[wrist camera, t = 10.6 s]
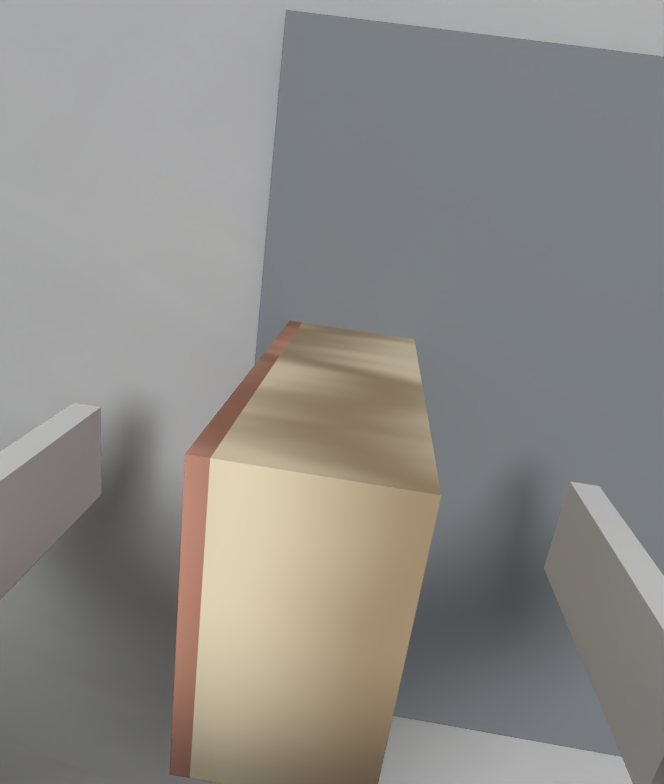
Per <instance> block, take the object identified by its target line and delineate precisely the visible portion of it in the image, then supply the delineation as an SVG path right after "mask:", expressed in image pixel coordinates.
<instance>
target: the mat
mask: <svg viewBox="0 0 664 784" xmlns="http://www.w3.org/2000/svg"><path fill="white" fill-rule="evenodd" d="M289 321H295V322H302V323H309V324H316V325H322V326H329V327H336V328H342V329H349V330H356V331H363V332H369V333H376V334H383V335H389V336H396V337H403V338H410V339H414V340H415V346H416V352H417V357H418V363H419V369H420V375H421V381H422V386H423V392H424V398H425V404H426V409H427V415H428V421H429V427H430V433H431V438H432V444H433V450H434V456H435V461H436V467H437V473H438V479H439V485H440V490H441V499H440V504H439V508H438V513H437V518H436V522H435V527H434V531H433V536H432V540H431V545H430V549H429V554H428V558H427V563H426V568H425V572H424V577H423V581H422V586H421V590H420V595H419V599H418V604H417V609H416V613H415V618H414V622H413V627H412V631H411V636H410V640H409V645H408V649H407V654H406V659H405V663H404V668H403V672H402V677H401V681H400V686H399V690H398V695H397V699H396V704H395V709H394V713H393V716H398V717H404V718H409V719H415V720H420V721H426V722H432V723H437V724H443V725H448V726H454V727H459V728H465V729H471V730H476V731H482V732H487V733H493V734H498V735H504V736H510V737H515V738H521V739H526V740H532V741H537V742H543V743H548V744H554V745H560V746H565V747H571V748H576V749H582V750H587V751H593V752H599V753H604V754H610V755H615V756H621V753H620V751H619V748H618V746H617V744H616V741H615V739H614V736H613V734H612V732H611V729H610V727H609V724H608V722H607V719H606V717H605V715H604V712H603V710H602V707H601V705H600V702H599V700H598V698H597V695H596V693H595V690H594V688H593V686H592V683H591V681H590V678H589V676H588V673H587V671H586V669H585V666H584V664H583V661H582V659H581V657H580V654H579V652H578V649H577V647H576V644H575V642H574V640H573V637H572V635H571V632H570V630H569V628H568V625H567V623H566V620H565V618H564V615H563V613H562V611H561V608H560V606H559V603H558V601H557V599H556V596H555V594H554V591H553V589H552V586H551V584H550V582H549V579H548V577H547V574H546V572H545V570H544V566H545V563H546V559H547V556H548V553H549V549H550V546H551V543H552V539H553V536H554V533H555V530H556V526H557V523H558V520H559V516H560V513H561V510H562V506H563V503H564V500H565V497H566V493H567V490H568V487H569V483H570V481H571V482H577V483H583V484H589V485H596V486H600V488H601V489H602V491H603V492H604V493H605V495H606V496H607V498H608V499H609V500H610V502H611V503H612V504H613V506H614V507H615V509H616V510H617V511H618V513H619V514H620V516H621V517H622V518H623V520H624V521H625V523H626V524H627V525H628V527H629V528H630V529H631V531H632V532H633V534H634V535H635V536H636V538H637V539H638V541H639V542H640V543H641V545H642V546H643V548H644V549H645V550H646V552H647V553H648V554H649V556H650V557H651V559H652V560H653V561H654V563H655V564H656V566H657V567H658V568H659V570H660V571H661V573H662V574H663V575H664V57H662V56H654V55H646V54H638V53H630V52H622V51H614V50H606V49H598V48H590V47H581V46H573V45H565V44H557V43H549V42H541V41H533V40H525V39H517V38H509V37H501V36H492V35H484V34H476V33H468V32H460V31H452V30H444V29H436V28H428V27H420V26H412V25H404V24H395V23H387V22H379V21H371V20H363V19H355V18H347V17H339V16H331V15H323V14H315V13H306V12H298V11H290V10H286V16H285V27H284V39H283V50H282V61H281V73H280V84H279V95H278V107H277V118H276V130H275V141H274V152H273V164H272V175H271V187H270V198H269V209H268V221H267V232H266V243H265V255H264V266H263V278H262V289H261V300H260V312H259V323H258V334H257V346H256V357H255V364H256V363H257V362H258V361H259V359H260V358H261V357H262V356H263V354H264V353H265V352H266V350H267V349H268V348H269V347H270V345H271V344H272V343H273V342H274V340H275V339H276V338H277V336H278V335H279V334H280V333H281V331H282V330H283V329H284V328H285V326H286V325H287V324H288V322H289ZM621 757H622V756H621Z"/></svg>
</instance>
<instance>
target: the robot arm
mask: <svg viewBox="0 0 664 784" xmlns="http://www.w3.org/2000/svg"><path fill="white" fill-rule="evenodd" d="M100 495H101V407H97V406H91V405H84V404H78V403H73V404H71V405H70V406H68V407H67V408H65V409H64V410H62V411H61V412H59V413H58V414H56V415H55V416H53V417H51V418H50V419H48V420H47V421H45V422H44V423H42V424H41V425H39V426H38V427H36V428H35V429H33V430H32V431H30V432H29V433H27V434H26V435H24V436H23V437H21V438H20V439H18V440H17V441H15V442H14V443H12V444H11V445H9V446H8V447H6V448H5V449H3V450H2V451H0V600H1V599H2V598H3V597H4V596H5V595H6V593H7V592H8V591H9V590H10V589H11V588H12V587H13V586H14V585H15V584H16V583H17V582H18V581H19V580H20V579H21V578H22V577H23V576H24V575H25V574H26V573H27V572H28V571H29V569H30V568H31V567H32V566H33V565H34V564H35V563H36V562H37V561H38V560H39V559H40V558H41V557H42V556H43V555H44V554H45V553H46V552H47V551H48V550H49V549H50V548H51V547H52V545H53V544H54V543H55V542H56V541H57V540H58V539H59V538H60V537H61V536H62V535H63V534H64V533H65V532H66V531H67V530H68V529H69V528H70V527H71V526H72V525H73V524H74V523H75V522H76V520H77V519H78V518H79V517H80V516H81V515H82V514H83V513H84V512H85V511H86V510H87V509H88V508H89V507H90V506H91V505H92V504H93V503H94V502H95V501H96V500H97V499H98V498H99V496H100ZM544 570H545V572H546V574H547V577H548V579H549V582H550V584H551V586H552V589H553V591H554V594H555V596H556V599H557V601H558V603H559V606H560V608H561V611H562V613H563V615H564V618H565V620H566V623H567V625H568V628H569V630H570V632H571V635H572V637H573V640H574V642H575V644H576V647H577V649H578V652H579V654H580V657H581V659H582V661H583V664H584V666H585V669H586V671H587V673H588V676H589V678H590V681H591V683H592V686H593V688H594V690H595V693H596V695H597V698H598V700H599V702H600V705H601V707H602V710H603V712H604V715H605V717H606V719H607V722H608V724H609V727H610V729H611V732H612V734H613V736H614V739H615V741H616V744H617V746H618V748H619V751H620V753H621V756H622V758H623V761H624V763H625V765H626V768H627V770H628V773H629V775H630V777H631V780H632V782H633V784H664V575H663V574H662V573H661V571H660V570H659V568H658V567H657V566H656V564H655V563H654V561H653V560H652V559H651V557H650V556H649V554H648V553H647V552H646V550H645V549H644V548H643V546H642V545H641V543H640V542H639V541H638V539H637V538H636V536H635V535H634V534H633V532H632V531H631V529H630V528H629V527H628V525H627V524H626V523H625V521H624V520H623V518H622V517H621V516H620V514H619V513H618V511H617V510H616V509H615V507H614V506H613V504H612V503H611V502H610V500H609V499H608V498H607V496H606V495H605V493H604V492H603V491H602V489H601V488H600V486H596V485H589V484H583V483H577V482H571V481H570V483H569V487H568V490H567V493H566V497H565V500H564V503H563V506H562V510H561V513H560V516H559V520H558V523H557V526H556V530H555V533H554V536H553V539H552V543H551V546H550V549H549V553H548V556H547V559H546V563H545V566H544Z"/></svg>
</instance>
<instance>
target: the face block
mask: <svg viewBox="0 0 664 784" xmlns="http://www.w3.org/2000/svg"><path fill="white" fill-rule="evenodd" d="M440 499H441V490H440V485H439V479H438V473H437V467H436V461H435V456H434V450H433V444H432V438H431V433H430V427H429V421H428V415H427V409H426V404H425V398H424V392H423V386H422V381H421V375H420V369H419V363H418V357H417V352H416V346H415V340H414V339H410V338H403V337H396V336H389V335H383V334H376V333H369V332H363V331H356V330H349V329H342V328H336V327H329V326H322V325H316V324H309V323H302V322H295V321H289V322H288V324H287V325H286V326H285V328H284V329H283V330H282V331H281V333H280V334H279V335H278V336H277V338H276V339H275V340H274V342H273V343H272V344H271V345H270V347H269V348H268V349H267V350H266V352H265V353H264V354H263V356H262V357H261V358H260V359H259V361H258V362H257V363H256V364H255V366H254V367H253V368H252V370H251V371H250V372H249V373H248V375H247V376H246V377H245V378H244V380H243V381H242V382H241V384H240V385H239V386H238V387H237V389H236V390H235V391H234V392H233V394H232V395H231V396H230V398H229V399H228V400H227V401H226V403H225V404H224V405H223V406H222V408H221V409H220V410H219V412H218V413H217V414H216V415H215V417H214V418H213V419H212V420H211V422H210V423H209V424H208V426H207V427H206V428H205V429H204V431H203V432H202V433H201V434H200V436H199V437H198V438H197V440H196V441H195V442H194V443H193V445H192V446H191V447H190V448H189V450H188V451H187V452H186V454H185V466H184V487H183V508H182V529H181V550H180V571H179V592H178V613H177V634H176V655H175V676H174V696H173V717H172V738H171V759H170V774H171V775H177V776H182V777H187V778H192V779H198V780H203V781H208V782H214V783H219V784H378V781H379V777H380V772H381V768H382V763H383V759H384V754H385V749H386V745H387V740H388V736H389V731H390V727H391V722H392V718H393V713H394V709H395V704H396V699H397V695H398V690H399V686H400V681H401V677H402V672H403V668H404V663H405V659H406V654H407V649H408V645H409V640H410V636H411V631H412V627H413V622H414V618H415V613H416V609H417V604H418V599H419V595H420V590H421V586H422V581H423V577H424V572H425V568H426V563H427V558H428V554H429V549H430V545H431V540H432V536H433V531H434V527H435V522H436V518H437V513H438V508H439V504H440Z"/></svg>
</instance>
